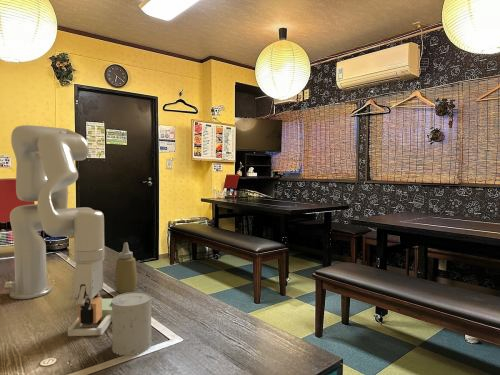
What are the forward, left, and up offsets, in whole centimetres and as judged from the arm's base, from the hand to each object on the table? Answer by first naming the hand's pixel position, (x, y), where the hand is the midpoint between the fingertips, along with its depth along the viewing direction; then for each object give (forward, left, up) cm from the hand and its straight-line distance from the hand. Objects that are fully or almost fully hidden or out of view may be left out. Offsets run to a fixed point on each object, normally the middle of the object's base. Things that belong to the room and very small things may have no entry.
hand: (90, 318), depth 98 cm
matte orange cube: (0, 0, 0) cm, 0 cm away
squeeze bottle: (+2, +28, -3) cm, 29 cm away
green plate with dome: (+3, +4, -3) cm, 6 cm away
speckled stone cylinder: (+14, -11, -3) cm, 18 cm away
